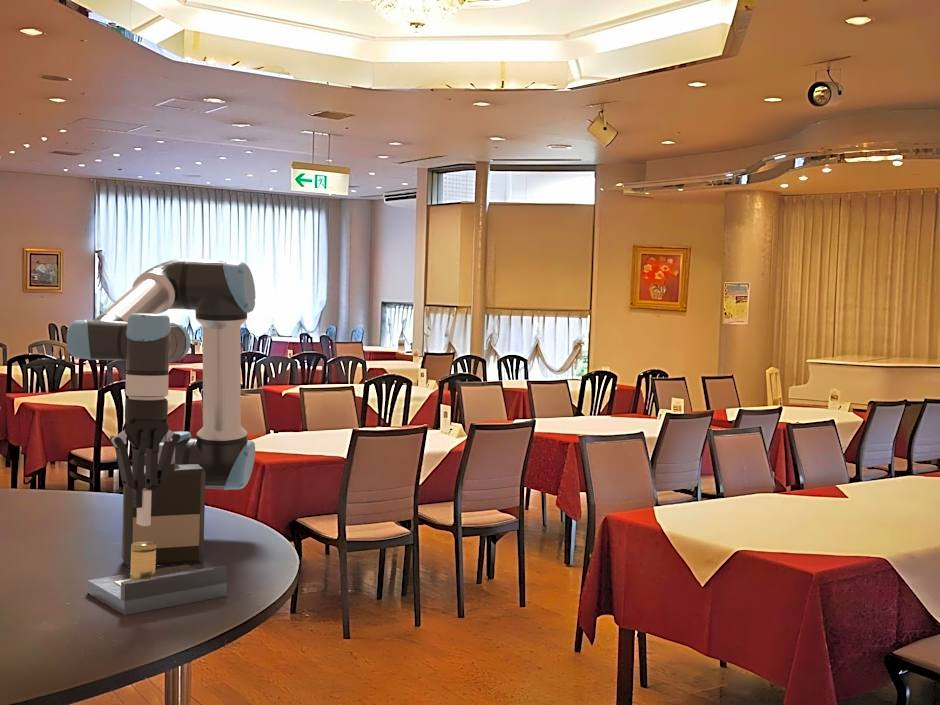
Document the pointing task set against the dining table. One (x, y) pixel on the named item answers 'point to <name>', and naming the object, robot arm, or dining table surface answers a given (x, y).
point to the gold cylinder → (143, 560)
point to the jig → (160, 588)
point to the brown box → (170, 517)
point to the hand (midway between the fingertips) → (143, 524)
